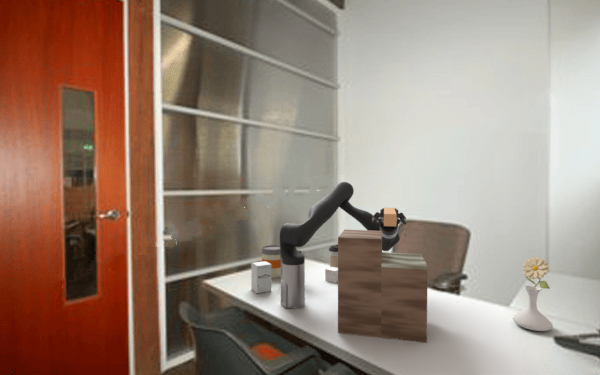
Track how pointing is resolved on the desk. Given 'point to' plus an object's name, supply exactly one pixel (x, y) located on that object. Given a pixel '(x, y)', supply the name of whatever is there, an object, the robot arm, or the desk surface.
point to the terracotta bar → (390, 217)
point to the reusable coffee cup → (272, 259)
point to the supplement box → (261, 277)
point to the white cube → (331, 274)
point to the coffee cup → (333, 256)
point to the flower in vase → (534, 297)
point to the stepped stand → (380, 289)
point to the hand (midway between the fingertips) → (389, 210)
